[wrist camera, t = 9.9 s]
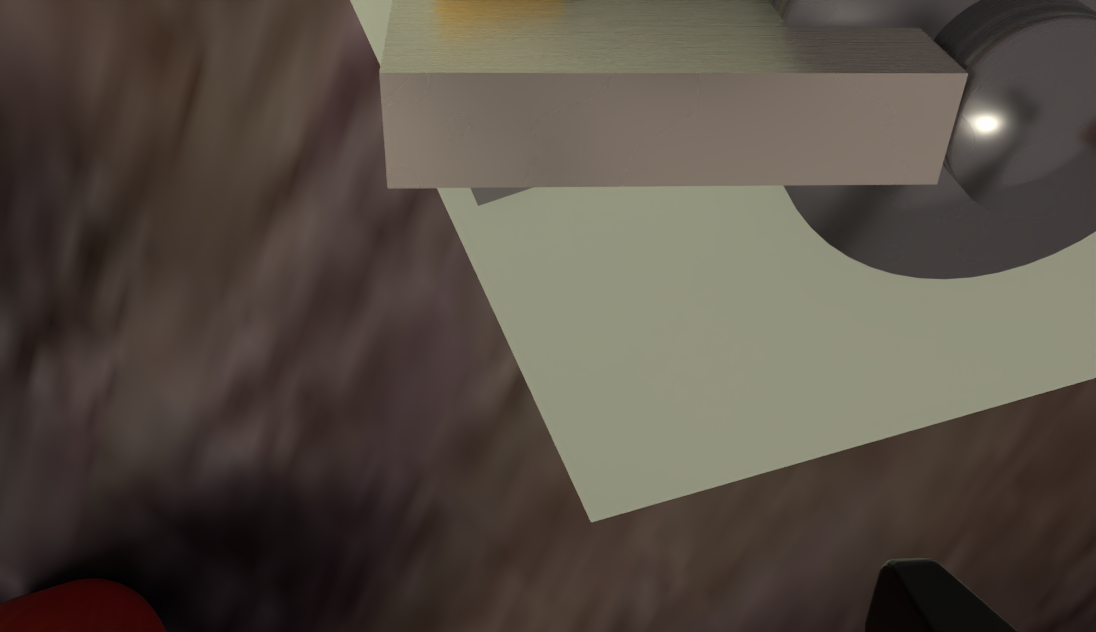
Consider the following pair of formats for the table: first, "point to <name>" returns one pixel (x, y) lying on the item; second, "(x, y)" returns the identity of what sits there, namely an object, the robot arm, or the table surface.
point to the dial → (769, 112)
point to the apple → (80, 609)
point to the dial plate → (742, 329)
